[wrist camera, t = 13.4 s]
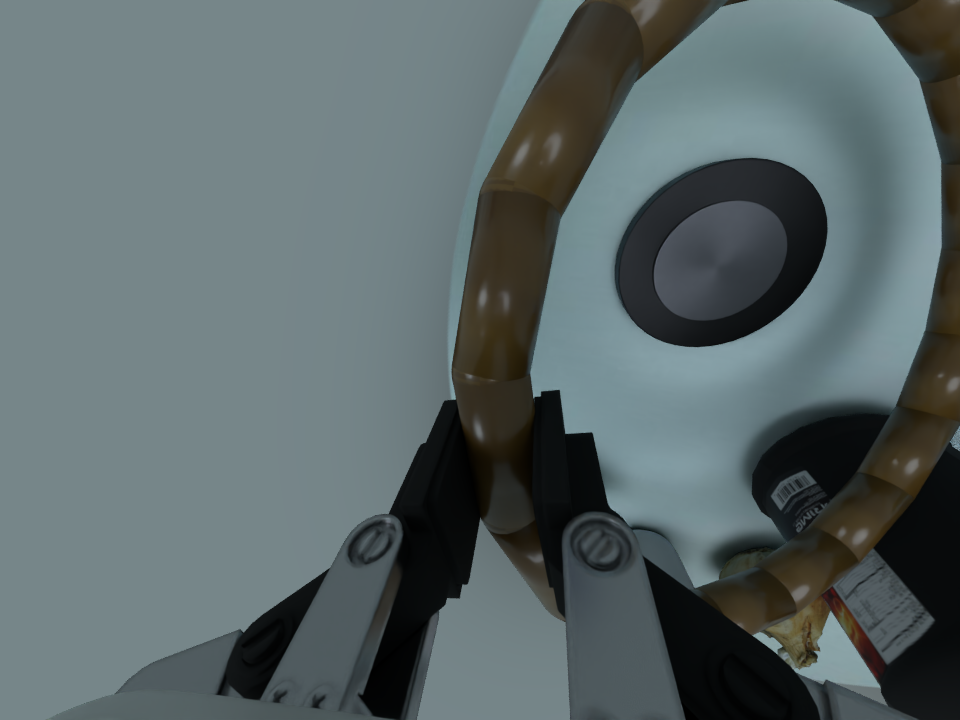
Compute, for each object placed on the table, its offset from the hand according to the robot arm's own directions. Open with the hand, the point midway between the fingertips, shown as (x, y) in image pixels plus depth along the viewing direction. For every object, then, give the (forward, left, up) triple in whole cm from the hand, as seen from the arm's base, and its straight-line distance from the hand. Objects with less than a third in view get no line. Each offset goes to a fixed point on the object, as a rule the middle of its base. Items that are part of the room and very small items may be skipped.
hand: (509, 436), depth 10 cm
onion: (+33, -9, -16) cm, 38 cm away
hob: (+8, +8, -15) cm, 19 cm away
